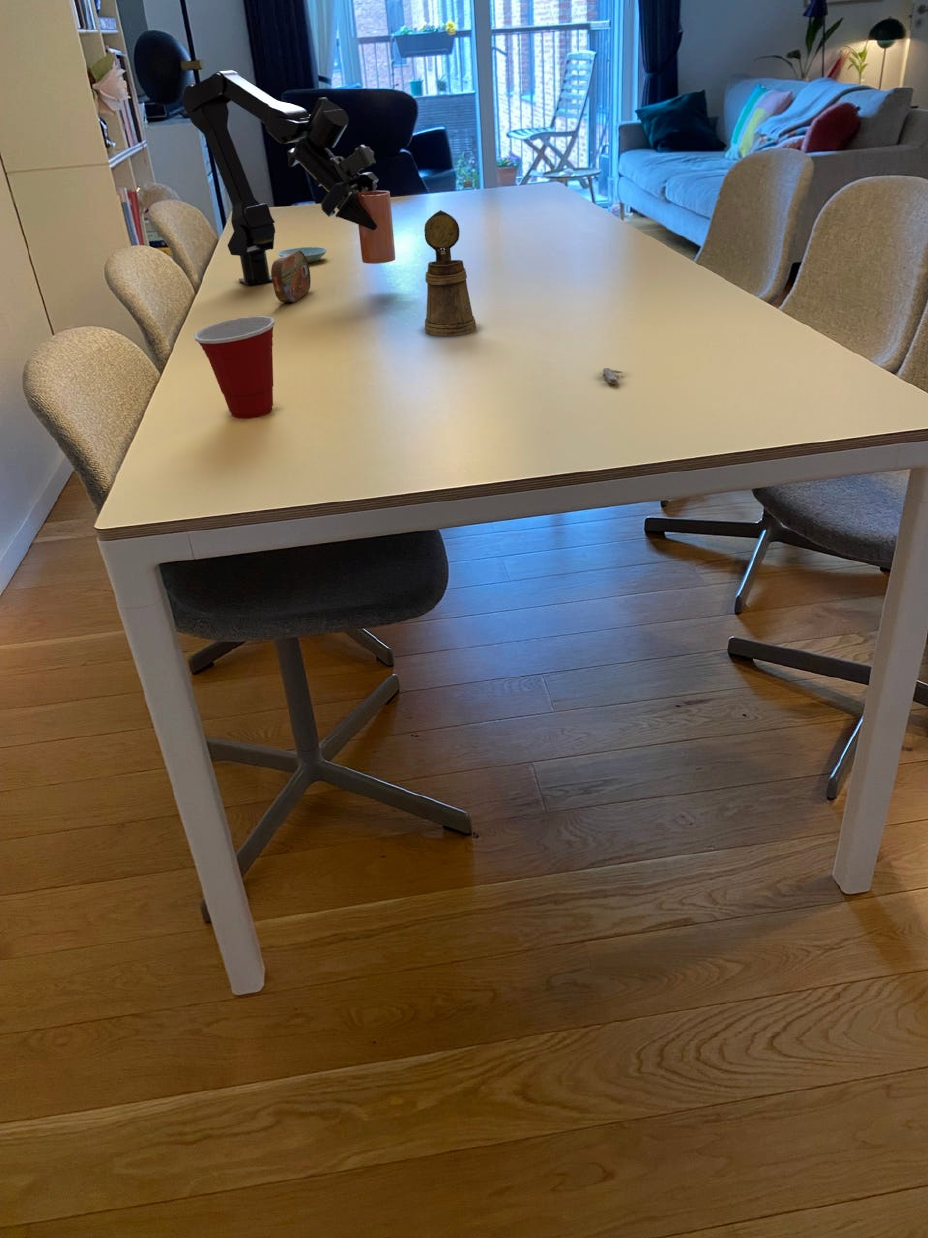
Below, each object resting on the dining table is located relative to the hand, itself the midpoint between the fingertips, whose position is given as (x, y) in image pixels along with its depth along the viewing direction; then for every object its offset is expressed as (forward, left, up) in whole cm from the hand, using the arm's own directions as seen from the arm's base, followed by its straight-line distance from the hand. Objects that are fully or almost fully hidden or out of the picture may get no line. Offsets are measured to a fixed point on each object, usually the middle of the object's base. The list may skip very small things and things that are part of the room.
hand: (381, 225), depth 181 cm
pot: (-1, -1, -7) cm, 7 cm away
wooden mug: (+35, -6, -13) cm, 37 cm away
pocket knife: (+77, -3, -12) cm, 78 cm away
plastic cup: (+55, -50, -13) cm, 75 cm away
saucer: (-44, -1, -13) cm, 46 cm away
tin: (-8, -18, -13) cm, 23 cm away
